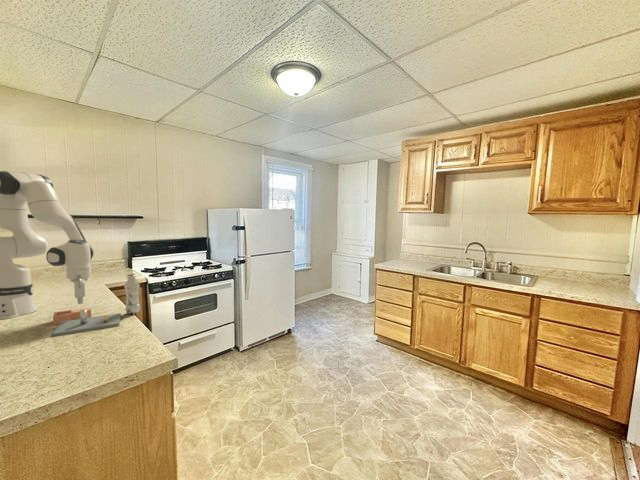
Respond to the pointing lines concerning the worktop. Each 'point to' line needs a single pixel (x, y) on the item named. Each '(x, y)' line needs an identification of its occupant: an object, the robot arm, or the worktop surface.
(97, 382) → the worktop surface
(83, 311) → the post
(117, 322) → the board
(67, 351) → the worktop surface
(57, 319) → the orange hollow block
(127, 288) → the plastic bottle
